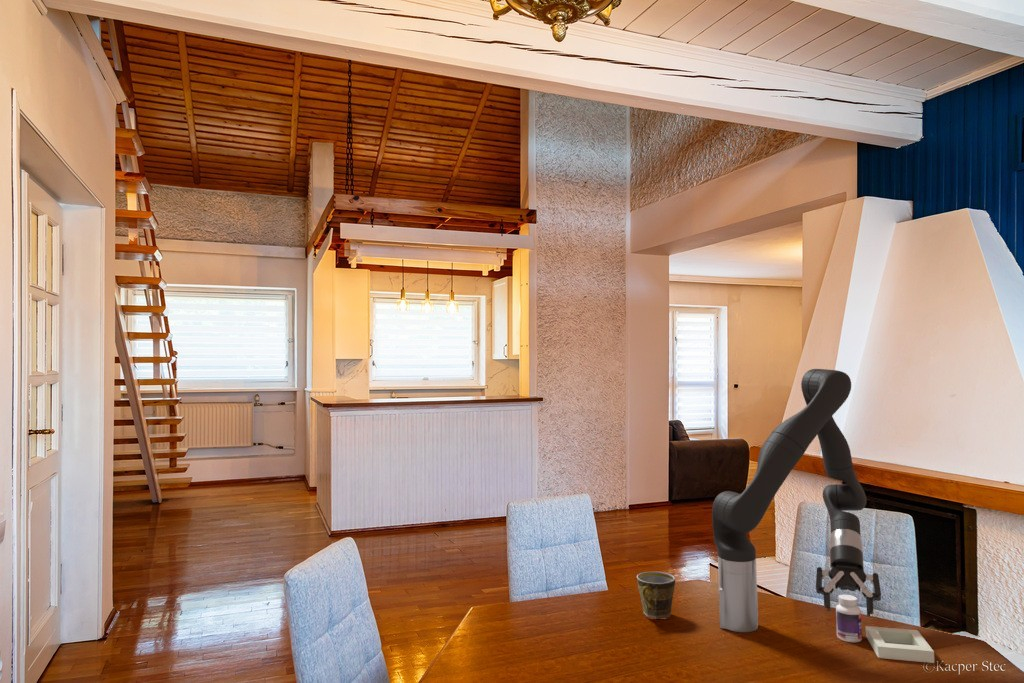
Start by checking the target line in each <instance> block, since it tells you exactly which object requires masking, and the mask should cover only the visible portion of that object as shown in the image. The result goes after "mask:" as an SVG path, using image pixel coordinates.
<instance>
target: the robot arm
mask: <svg viewBox="0 0 1024 683" xmlns="http://www.w3.org/2000/svg"><path fill="white" fill-rule="evenodd" d="M800 388H801V392H802V395H803V399H804V402H805V404H806V406H805V407H803V408H802V409H801V410H800V411H798V412H797V413H795V414H794V415H791V416H790V417H789V418H787V419H786V420H784V421H782V422H780V424H779V425H777V426H776V427H775V428H774V429H773V430H772V431H771V433H770V434H769V435H768V436H767V438H766V440H765V441H764V442H763V444H762V445H761V447H760V449H759V450H760V451H759V453H758V459H757V465H756V466H757V467H756V470H755V474H754V476H753V477H752V480H751V481H750V482H749V484H748V485H747V486H746V488H744V490H743V492H741V493H738V492H735V491H731V490H725V491H723V492H720V493H718V495H716V497H715V498H714V501H713V503H712V507H711V508H712V510H711V517H712V532H713V533H712V534H713V541H714V545H715V547H716V550H717V567H718V568H717V569H718V570H717V571H718V572H717V573H718V606H719V610H718V611H719V612H718V614H719V629H726V630H728V631H731V632H736V633H751V632H754V631H757V630H758V628H759V611H758V609H759V608H758V581H757V580H758V577H757V552H756V551H757V549H756V547H755V545H754V544H753V542H751V540H750V539H749V537H748V535H747V534H748V533H750V532H753V530H755V529H756V528H757V527H758V525H759V524H760V523H761V521H762V519H764V516H765V514H766V513H767V510H768V509H769V506H770V505H771V503H772V501H773V500H774V498H775V496H776V494H777V493H778V491H779V489H780V488H781V487H782V485H783V483H784V482H785V480H786V479H787V477H788V476H789V475H790V473H791V472H792V471H793V469H794V468H795V467H796V465H797V464H798V463H799V461H800V460H801V458H802V457H803V455H804V454H805V453H806V452H807V450H808V448H809V446H810V445H811V443H812V442H813V441H814V439H815V438H816V437H817V438H818V441H819V445H820V450H821V455H822V461H823V466H824V471H825V475H826V476H827V477H828V478H830V479H834V480H839V481H842V482H844V483H845V484H844V483H841V484H839V483H838V484H828V485H826V486H825V487H824V488H823V491H822V499H823V502H824V504H825V507H826V509H827V512H828V516H829V520H830V521H829V522H830V538H829V539H830V540H829V555H830V556H829V560H830V562H829V563H830V566H829V570H828V569H827V570H826V569H823V568H822V567H820V566H818V567H816V575H815V578H816V580H815V590H816V594H821V595H822V596H823V607H824V608H825V609H827V612H832V610H831V609H832V608H831V595H832V594H833V593H835V592H836V591H837V590H838V589H840V590H841V591H851V592H855V591H857V592H859V594H860V595H861V596H862V597H864V598H865V601H866V603H865V606H866V616H867V617H871V615H873V614H874V601H878V602H879V601H881V600H882V591H881V585H880V578H879V574H878V573H877V572H873V573H872V574H866V572H865V569H864V568H865V566H864V549H863V542H862V536H861V535H862V534H861V523H860V522H861V521H860V519H859V517H858V516H857V514H854V513H851V512H853V511H862V510H863V509H864V508H865V507H866V505H867V496H866V493H865V490H864V488H863V486H862V485H861V483H860V481H859V479H858V477H857V475H856V471H855V469H854V465H853V458H852V453H851V448H850V446H849V443H848V441H847V439H846V437H845V435H844V434H843V432H842V431H841V429H840V427H839V426H838V424H837V423H836V421H835V419H834V414H836V412H838V410H839V409H840V408H841V407H842V406H843V404H844V403H845V402H846V400H847V399H848V398H849V396H850V394H851V391H852V381H851V378H850V376H849V375H848V374H847V373H846V372H843V371H842V370H835V369H826V368H825V369H824V368H812V369H811V368H810V369H809V370H807V371H806V372H805V373H804V375H803V376H802V378H801V384H800ZM849 511H851V512H849ZM827 577H829V578H830V580H829V583H828V584H827V585H826V586H825V587H824V586H823V580H825V579H826V578H827ZM866 581H869V583H870V584H871V585H873V591H874V592H871V591H870V589H868V587H867V585H866V584H865V582H866Z"/></svg>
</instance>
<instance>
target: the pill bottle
mask: <svg viewBox="0 0 1024 683" xmlns="http://www.w3.org/2000/svg"><path fill="white" fill-rule="evenodd" d="M838 603H839V604H838ZM838 603H837V605H836V606H835V617H836V619H835V620H836V621H835V622H836V637H837V638H838V639H839V640H841V641H844V642H846V643H859V642H862V640H863V633H862V632H863V631H862V630H863V629H862V628H863V627H862V611H861V608H860V607H859V606H858V598H857V597H856V596H854V595H850V594H840V595H838Z"/></svg>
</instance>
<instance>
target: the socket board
mask: <svg viewBox="0 0 1024 683" xmlns="http://www.w3.org/2000/svg"><path fill="white" fill-rule="evenodd" d="M865 637H866V638H867V640H868V642H869V644H870V646H871V648H872V649H873V651H874V653H875V654H876V656H877V658H878V659H886V660H887V659H888V660H896V661H897V660H898V661H908V662H920V663H930V664H935V651H934V649H932V647H931V646H930V645H929V643H928V641H926V639H925V638H924V637H923V635H922V634H921V633H920V632H919V630H918V629H909V628H908V629H906V628H905V629H904V628H896V627H895V628H893V627H881V626H871V625H870V626H868V625H865Z"/></svg>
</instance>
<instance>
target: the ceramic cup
mask: <svg viewBox="0 0 1024 683" xmlns="http://www.w3.org/2000/svg"><path fill="white" fill-rule="evenodd" d="M636 581H637V587H638V588H637V589H638V592H639V596H640V602H641V607H642V611H643V615H644V614H645V615H646V616H647V617H651V618H656V619H661V618H667V617H668V618H670V616H671V612H672V605H673V598H674V594H675V586H676V577H675V576H674V575H672V574H670V573H668V572H664V571H663V572H662V571H645V572H640V573H638V574H637V575H636ZM645 615H644V616H645ZM646 616H645V617H646ZM647 617H646V618H647ZM668 618H667V619H668Z"/></svg>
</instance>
